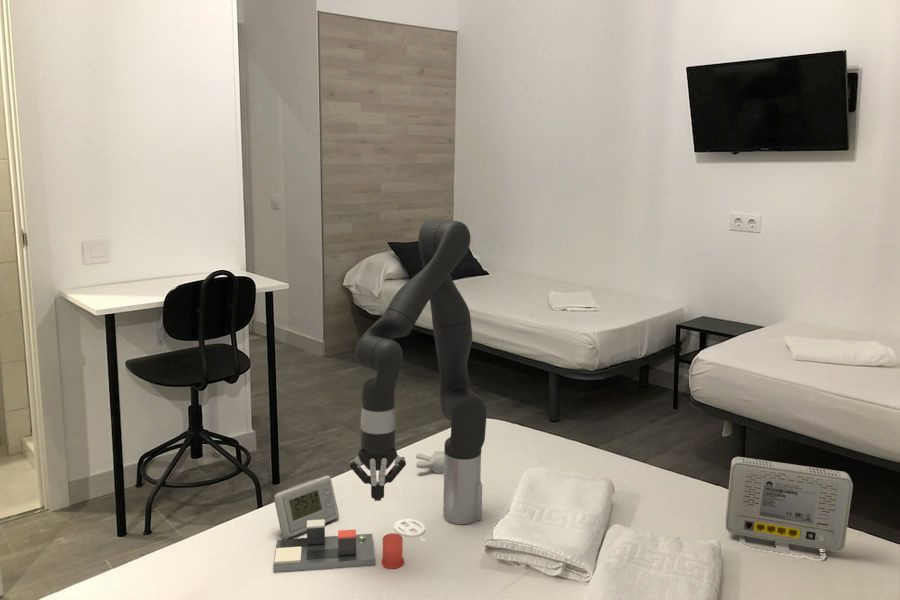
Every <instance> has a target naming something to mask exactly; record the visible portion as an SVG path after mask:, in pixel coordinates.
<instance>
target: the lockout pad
mask: <svg viewBox="0 0 900 600" xmlns="http://www.w3.org/2000/svg"><path fill="white" fill-rule="evenodd" d="M275 550H276V554H275V553H274V557H275V561H274V560H273V565H274V564H287V563H301V550H302V547H287V548H276V547H275Z"/></svg>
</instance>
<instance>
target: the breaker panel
mask: <svg viewBox="0 0 900 600" xmlns="http://www.w3.org/2000/svg"><path fill="white" fill-rule="evenodd" d="M373 537H374V536H373V533H361V534H356V554H352V555H338V535H331V536H325V543H323V544H308V545H307V537H300V538H297V537H296V538H288V539H285V538H283V539H282V538H281V539H276V544H275V552H274V555H275V554H276V548H287V547H302V550H301V563H287V564H274V563H273V564H272V566H273V569H272V570H273V573H283V572H287V573H288V572H299V571H313V570H314V571H315V570H325V569H340V568H353V567H354V568H355V567H368V566H375V565H376V562H375V561H376V559H375V548H374V539H373ZM274 561H275V556H274V558H273V562H274Z"/></svg>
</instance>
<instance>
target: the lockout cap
mask: <svg viewBox="0 0 900 600" xmlns="http://www.w3.org/2000/svg"><path fill="white" fill-rule="evenodd" d="M403 541H404V540H403V536H401V535H399V534H398V533H396V532H395V533H394V532H392V533H387V534H385V535H384V536H383V537H382V558H381V565H382V567H383V568H385V569H388V570H396V569H400V568H401V567H403V565H404V563H405V561H404V560H405V559H404V557H403V545H404V544H403V543H404V542H403Z"/></svg>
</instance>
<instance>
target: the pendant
mask: <svg viewBox="0 0 900 600" xmlns="http://www.w3.org/2000/svg"><path fill="white" fill-rule="evenodd" d="M404 525H407V526H404ZM393 526H394V532H395V533H396V534H399V535H401V536H402V537H405V538H417V537H418V538H419V539H420V540H421V542H423V543H424V542H426V538H422V537H421V536H422V535H424V534H425V532H426V526H425V525H424V523H422V522H421V521H419V520H416V519H412V518H405V519H404V518H403V519H400V520H398V521H396V522H395V523H394V525H393ZM413 531H415V532H413Z"/></svg>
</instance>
